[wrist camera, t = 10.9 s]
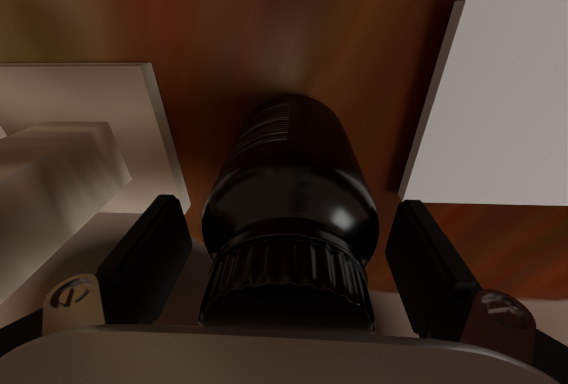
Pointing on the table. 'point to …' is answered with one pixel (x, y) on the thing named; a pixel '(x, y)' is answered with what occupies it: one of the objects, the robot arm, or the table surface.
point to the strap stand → (77, 155)
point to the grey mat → (495, 108)
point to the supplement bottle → (290, 226)
